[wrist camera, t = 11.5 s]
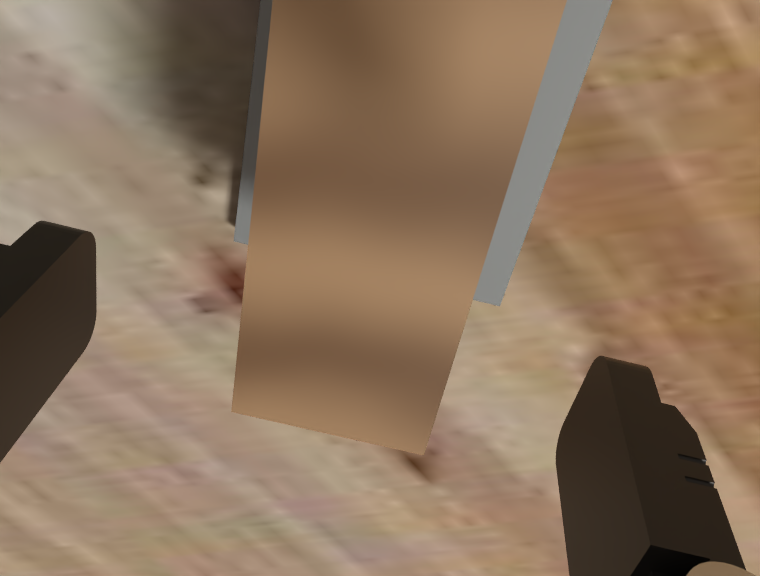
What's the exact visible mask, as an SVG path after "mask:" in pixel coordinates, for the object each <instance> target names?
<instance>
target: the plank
mask: <svg viewBox="0 0 760 576" xmlns="http://www.w3.org/2000/svg"><path fill="white" fill-rule="evenodd" d="M566 2H567V0H273V2H272V12H271V22H270V32H269V42H268V52H267V62H266V72H265V82H264V92H263V102H262V112H261V122H260V132H259V142H258V152H257V162H256V172H255V182H254V192H253V202H252V212H251V221H250V231H249V241H248V251H247V261H246V271H245V281H244V291H243V301H242V311H241V321H240V331H239V341H238V351H237V361H236V371H235V381H234V391H233V401H232V411H231V412H234V413H239V414H243V415H248V416H252V417H257V418H261V419H265V420H270V421H274V422H279V423H283V424H287V425H292V426H296V427H301V428H305V429H309V430H314V431H318V432H323V433H327V434H331V435H336V436H340V437H345V438H349V439H353V440H358V441H362V442H367V443H371V444H376V445H380V446H384V447H389V448H393V449H398V450H402V451H406V452H411V453H415V454H420V455H424V453H425V450H426V446H427V443H428V440H429V437H430V434H431V431H432V427H433V424H434V421H435V418H436V415H437V412H438V408H439V405H440V402H441V399H442V396H443V392H444V389H445V386H446V383H447V380H448V377H449V373H450V370H451V367H452V364H453V361H454V358H455V354H456V351H457V348H458V345H459V342H460V338H461V335H462V332H463V329H464V326H465V323H466V319H467V316H468V313H469V310H470V307H471V304H472V300H473V297H474V294H475V291H476V288H477V284H478V281H479V278H480V275H481V272H482V269H483V265H484V262H485V259H486V256H487V253H488V249H489V246H490V243H491V240H492V237H493V234H494V230H495V227H496V224H497V221H498V218H499V215H500V211H501V208H502V205H503V202H504V199H505V195H506V192H507V189H508V186H509V183H510V180H511V176H512V173H513V170H514V167H515V164H516V161H517V157H518V154H519V151H520V148H521V145H522V141H523V138H524V135H525V132H526V129H527V126H528V122H529V119H530V116H531V113H532V110H533V107H534V103H535V100H536V97H537V94H538V91H539V87H540V84H541V81H542V78H543V75H544V72H545V68H546V65H547V62H548V59H549V56H550V53H551V49H552V46H553V43H554V40H555V37H556V33H557V30H558V27H559V24H560V21H561V18H562V14H563V11H564V8H565V5H566Z"/></svg>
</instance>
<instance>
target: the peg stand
mask: <svg viewBox="0 0 760 576" xmlns="http://www.w3.org/2000/svg"><path fill="white" fill-rule="evenodd" d="M272 2H273V0H260V9H259V18H258V27H257V36H256V45H255V54H254V63H253V72H252V81H251V90H250V100H249V109H248V118H247V127H246V136H245V145H244V154H243V163H242V172H241V181H240V190H239V199H238V208H237V217H236V226H235V235H234V241H235V242H239V243H243V244H247V245H248V241H249V231H250V221H251V212H252V202H253V192H254V182H255V172H256V162H257V152H258V142H259V132H260V122H261V112H262V102H263V92H264V82H265V72H266V62H267V52H268V42H269V32H270V22H271V12H272ZM611 3H612V0H567V2H566V5H565V8H564V11H563V14H562V18H561V21H560V24H559V27H558V30H557V33H556V37H555V40H554V43H553V46H552V49H551V53H550V56H549V59H548V62H547V65H546V68H545V72H544V75H543V78H542V81H541V84H540V87H539V91H538V94H537V97H536V100H535V103H534V107H533V110H532V113H531V116H530V119H529V122H528V126H527V129H526V132H525V135H524V138H523V141H522V145H521V148H520V151H519V154H518V157H517V161H516V164H515V167H514V170H513V173H512V176H511V180H510V183H509V186H508V189H507V192H506V195H505V199H504V202H503V205H502V208H501V211H500V215H499V218H498V221H497V224H496V227H495V230H494V234H493V237H492V240H491V243H490V246H489V249H488V253H487V256H486V259H485V262H484V265H483V269H482V272H481V275H480V278H479V281H478V284H477V288H476V291H475V294H474V297H473V300H476V301H480V302H485V303H489V304H493V305H497V306H500V304H501V301H502V299H503V296H504V293H505V291H506V288H507V285H508V282H509V280H510V277H511V274H512V272H513V269H514V266H515V263H516V261H517V258H518V255H519V253H520V250H521V247H522V244H523V242H524V239H525V236H526V234H527V231H528V228H529V226H530V223H531V220H532V217H533V215H534V212H535V209H536V207H537V204H538V201H539V198H540V196H541V193H542V190H543V188H544V185H545V182H546V179H547V177H548V174H549V171H550V169H551V166H552V163H553V160H554V158H555V155H556V152H557V150H558V147H559V144H560V141H561V139H562V136H563V133H564V131H565V128H566V125H567V122H568V120H569V117H570V114H571V112H572V109H573V106H574V103H575V101H576V98H577V95H578V93H579V90H580V87H581V85H582V82H583V79H584V76H585V74H586V71H587V68H588V66H589V63H590V60H591V57H592V55H593V52H594V49H595V47H596V44H597V41H598V38H599V36H600V33H601V30H602V28H603V25H604V22H605V19H606V17H607V14H608V11H609V9H610V6H611Z"/></svg>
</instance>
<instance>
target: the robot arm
mask: <svg viewBox="0 0 760 576" xmlns="http://www.w3.org/2000/svg"><path fill="white" fill-rule="evenodd" d="M95 321H96V243H95V238H94V236H93V234H92V233H91V232H88V231H84V230H80V229H76V228H72V227H67V226H63V225H59V224H55V223H51V222H47V221H39V222H37V223H36V224H34V225H33V226H32V227H31V228H30V229H29V230H28V231H26V232H25V233H24V234H23V235H22V236H21V237H20V238H19V239H18V240H16V241H15V242H14V243H13V244H12V245H11V246H8V245H4V244H0V462H1V461H2V460H3V458H4V457H5V456H6V454H7V453H8V452H9V450H10V449H11V448H12V446H13V445H14V444H15V442H16V441H17V440H18V438H19V437H20V436H21V434H22V433H23V432H24V430H25V429H26V428H27V426H28V425H29V424H30V422H31V421H32V420H33V418H34V417H35V416H36V414H37V413H38V412H39V410H40V409H41V408H42V406H43V405H44V404H45V402H46V401H47V400H48V398H49V397H50V396H51V394H52V393H53V392H54V390H55V389H56V388H57V386H58V385H59V384H60V382H61V381H62V380H63V378H64V377H65V376H66V374H67V373H68V372H69V370H70V369H71V368H72V366H73V365H74V364H75V362H76V361H77V360H78V358H79V357H80V356H81V354H82V353H83V352H84V350H85V349H86V347H87V345H88V343H89V341H90V338H91V336H92V333H93V330H94V326H95ZM556 468H557V477H558V485H559V493H560V501H561V509H562V517H563V526H564V534H565V542H566V550H567V558H568V566H569V575H570V576H755V575H754V574H752V573H750V572H748V571H746V568H745V566H744V563H743V560H742V557H741V555H740V552H739V549H738V546H737V543H736V541H735V538H734V535H733V532H732V530H731V527H730V524H729V521H728V519H727V516H726V513H725V510H724V507H723V505H722V502H721V499H720V496H719V494H718V491H717V489H716V488H714V483H715V482H714V480H713V477H712V474H711V471H710V469H709V466H707V465H706V458H705V455H704V452H703V449H702V446H701V444H700V441H699V438H698V435H697V433H696V432H695V430H694V429H693V428H692V427H691V425H690V424H689V423H688V422H687V420H686V419H685V418H684V417H683V415H682V414H681V413H680V412H679V411H678V409H677V408H676V407H675V406H672V405H668V404H664V403H661V400H660V397H659V394H658V391H657V388H656V385H655V382H654V378H653V375H652V373H651V370H650V369H649V368H648V367H646V366H642V365H638V364H634V363H629V362H625V361H621V360H617V359H613V358H609V357H604V356H599V357H597V358H596V359H595V360H594V362H593V363H592V365H591V367H590V369H589V371H588V373H587V375H586V377H585V379H584V381H583V384H582V386H581V388H580V390H579V392H578V394H577V396H576V398H575V400H574V402H573V404H572V407H571V409H570V411H569V413H568V415H567V417H566V419H565V421H564V423H563V426H562V428H561V431H560V434H559V438H558V443H557V450H556Z"/></svg>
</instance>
